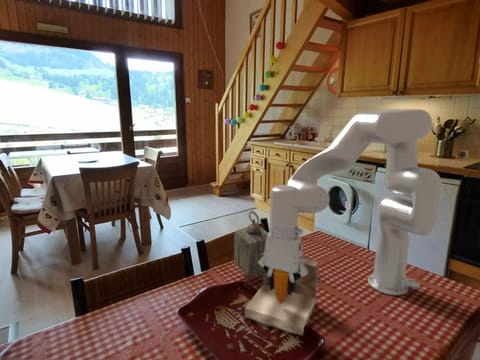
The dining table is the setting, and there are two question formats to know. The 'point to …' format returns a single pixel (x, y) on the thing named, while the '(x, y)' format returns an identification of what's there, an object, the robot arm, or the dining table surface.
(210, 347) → the dining table surface
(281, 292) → the carrot
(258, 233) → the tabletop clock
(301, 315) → the shelf
